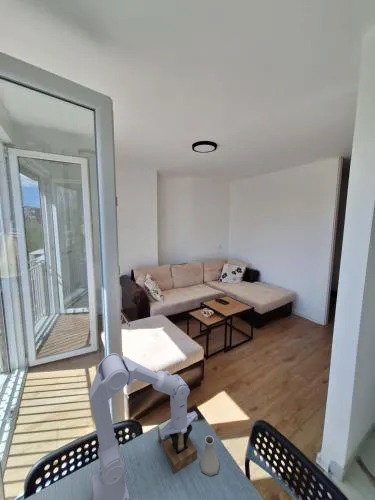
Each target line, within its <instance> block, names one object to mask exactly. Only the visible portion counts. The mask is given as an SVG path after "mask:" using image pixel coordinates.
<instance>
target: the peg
mask: <svg viewBox="0 0 375 500" xmlns="http://www.w3.org/2000/svg"><path fill="white" fill-rule="evenodd" d="M177 435H178V437H179V439H178V450H175V451H176V453H177V455H178V454H179V453H181V452H182V451H184V434H182V433H181V432H178V433H177Z"/></svg>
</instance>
